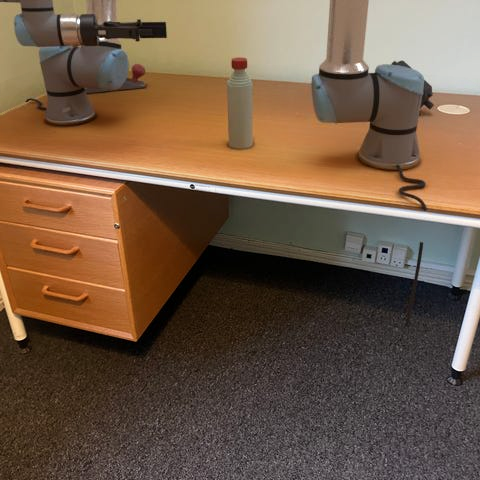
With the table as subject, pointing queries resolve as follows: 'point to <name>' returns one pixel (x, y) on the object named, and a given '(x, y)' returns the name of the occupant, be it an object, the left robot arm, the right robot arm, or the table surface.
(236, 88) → the bottle
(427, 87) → the tool
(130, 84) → the hand plane
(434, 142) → the table surface
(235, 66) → the cap
